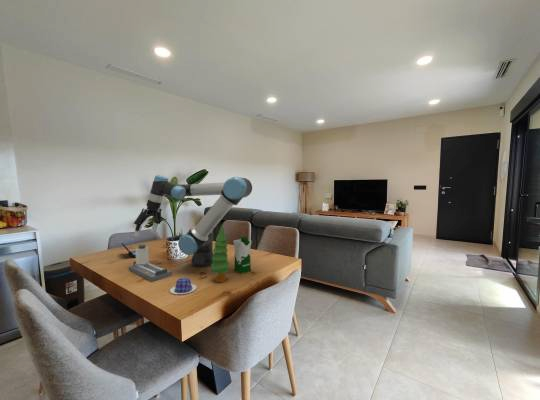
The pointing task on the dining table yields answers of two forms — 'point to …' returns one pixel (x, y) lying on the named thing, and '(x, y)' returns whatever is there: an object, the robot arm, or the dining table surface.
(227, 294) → the dining table surface
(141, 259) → the fader tab
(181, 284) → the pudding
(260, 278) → the dining table surface
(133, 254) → the game console
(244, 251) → the milk carton
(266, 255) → the dining table surface
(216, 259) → the decorative tree
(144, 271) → the fader track
